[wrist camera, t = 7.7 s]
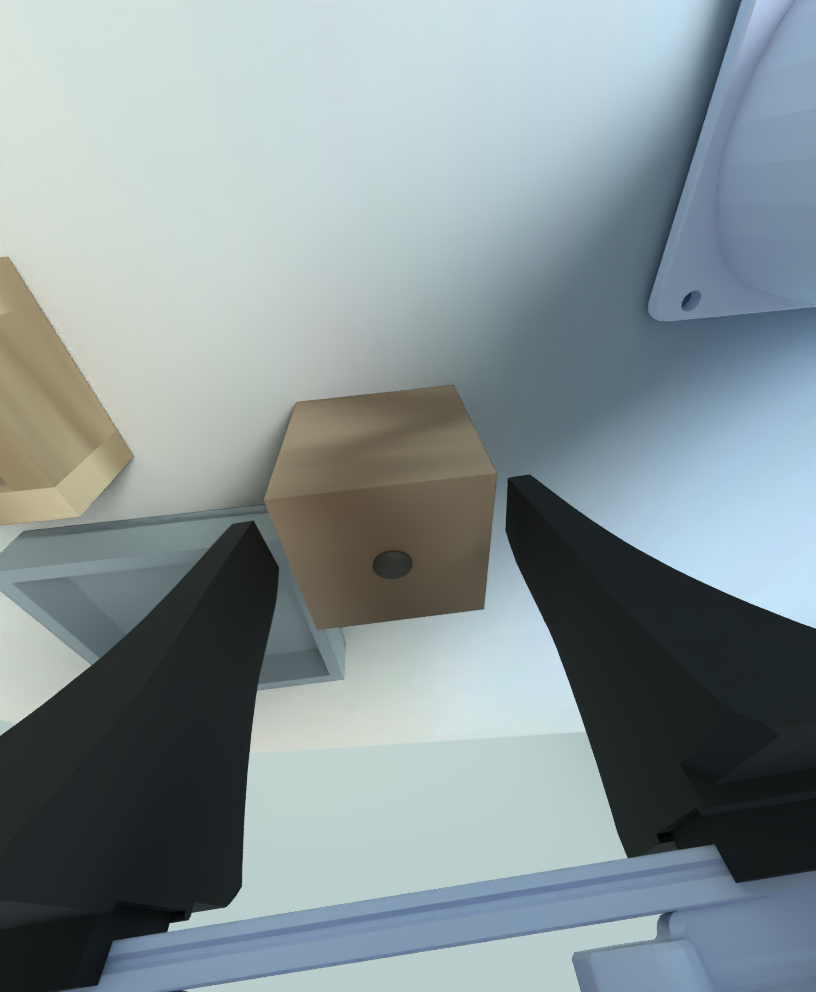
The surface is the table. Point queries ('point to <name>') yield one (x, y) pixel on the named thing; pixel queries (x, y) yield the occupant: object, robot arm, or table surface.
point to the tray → (155, 587)
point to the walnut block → (384, 506)
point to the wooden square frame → (47, 418)
